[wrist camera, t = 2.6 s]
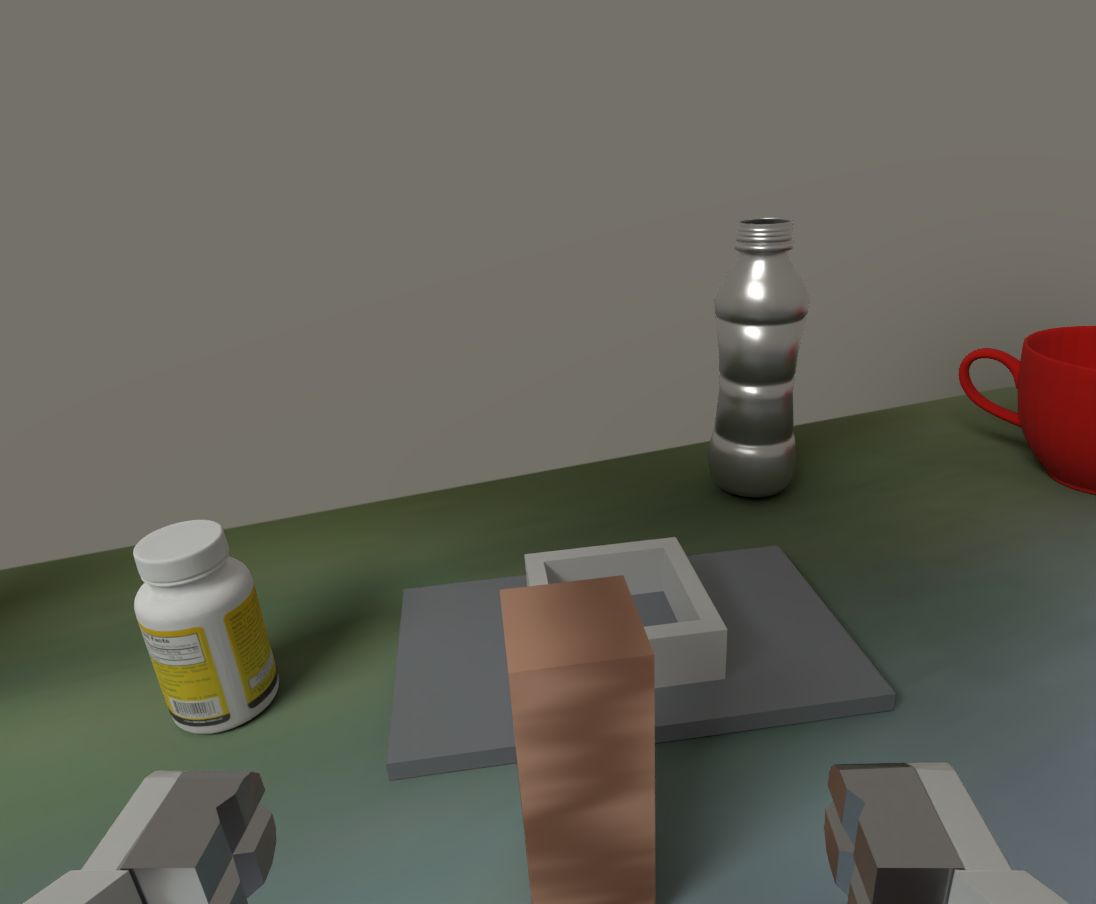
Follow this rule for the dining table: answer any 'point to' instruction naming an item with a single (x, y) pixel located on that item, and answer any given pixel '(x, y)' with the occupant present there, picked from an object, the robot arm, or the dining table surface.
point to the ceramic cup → (1051, 400)
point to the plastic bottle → (758, 361)
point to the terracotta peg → (583, 740)
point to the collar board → (674, 634)
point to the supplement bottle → (203, 628)
